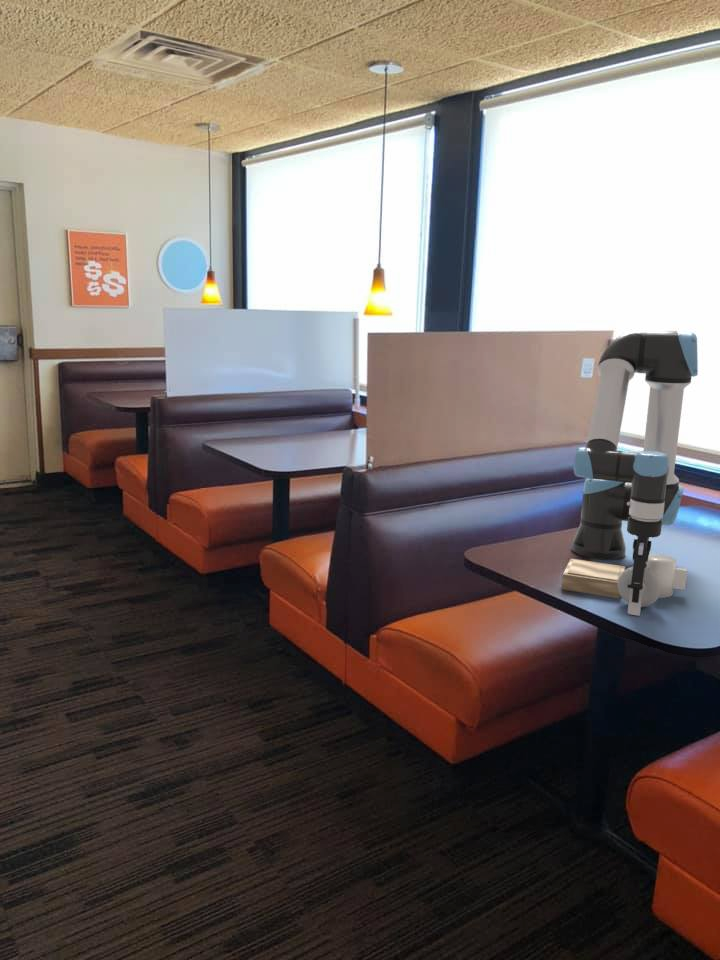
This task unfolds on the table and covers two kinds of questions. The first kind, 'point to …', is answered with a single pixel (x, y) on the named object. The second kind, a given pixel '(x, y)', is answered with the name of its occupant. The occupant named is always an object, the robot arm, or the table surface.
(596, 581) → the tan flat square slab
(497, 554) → the table surface
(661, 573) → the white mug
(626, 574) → the donut
